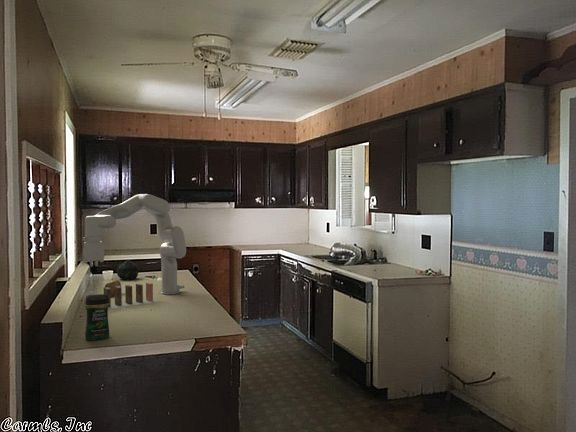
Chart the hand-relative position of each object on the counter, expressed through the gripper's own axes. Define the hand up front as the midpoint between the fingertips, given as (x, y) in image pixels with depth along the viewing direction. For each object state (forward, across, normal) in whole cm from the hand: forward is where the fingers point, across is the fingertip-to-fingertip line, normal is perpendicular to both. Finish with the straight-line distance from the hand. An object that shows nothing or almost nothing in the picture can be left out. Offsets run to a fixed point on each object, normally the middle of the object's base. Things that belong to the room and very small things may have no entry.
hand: (93, 273), depth 259 cm
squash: (+19, +50, +81) cm, 97 cm away
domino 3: (+19, +19, 0) cm, 27 cm away
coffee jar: (+19, -16, -55) cm, 60 cm away
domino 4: (+19, +25, 0) cm, 31 cm away
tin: (+19, +21, +31) cm, 42 cm away
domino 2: (+19, +13, 0) cm, 23 cm away
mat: (+19, +18, 0) cm, 26 cm away
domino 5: (+19, +31, 0) cm, 36 cm away
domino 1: (+19, +7, 0) cm, 20 cm away
